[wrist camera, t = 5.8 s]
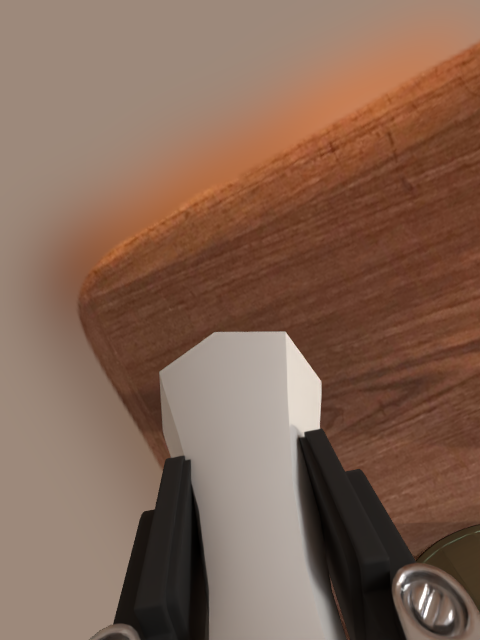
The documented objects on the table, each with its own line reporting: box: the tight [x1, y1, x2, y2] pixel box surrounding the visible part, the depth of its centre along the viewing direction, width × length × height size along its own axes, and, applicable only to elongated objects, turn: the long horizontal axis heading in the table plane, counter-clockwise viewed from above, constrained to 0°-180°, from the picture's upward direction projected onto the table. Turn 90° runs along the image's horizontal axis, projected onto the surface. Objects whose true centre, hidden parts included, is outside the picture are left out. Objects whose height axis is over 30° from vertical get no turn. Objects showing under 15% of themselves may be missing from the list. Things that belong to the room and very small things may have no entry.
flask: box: [159, 332, 346, 640], centre depth 9 cm, size 7×7×10 cm
